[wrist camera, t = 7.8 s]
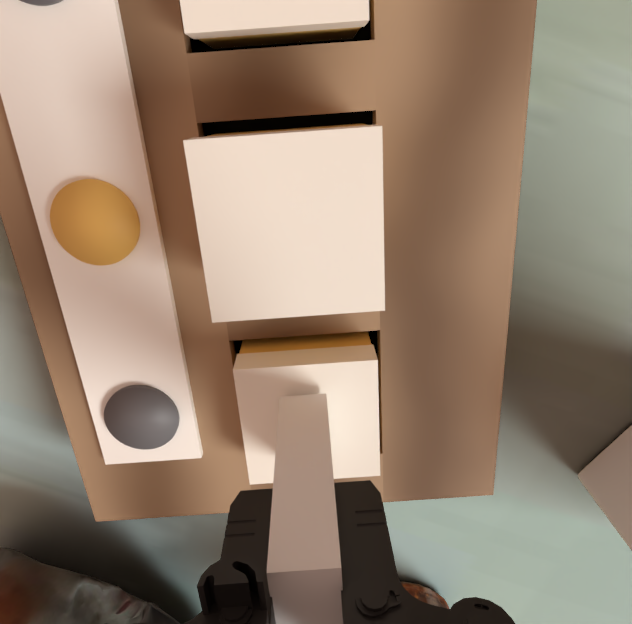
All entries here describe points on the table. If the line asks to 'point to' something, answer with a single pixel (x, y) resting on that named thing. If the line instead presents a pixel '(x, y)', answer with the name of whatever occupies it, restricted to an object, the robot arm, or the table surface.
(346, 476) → the far button
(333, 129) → the middle button
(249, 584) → the robot arm
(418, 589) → the sauce bottle
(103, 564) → the table surface
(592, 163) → the table surface
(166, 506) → the button board
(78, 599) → the lucky cat figurine
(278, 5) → the yellow white square block
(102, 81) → the push button panel
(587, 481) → the milk carton
